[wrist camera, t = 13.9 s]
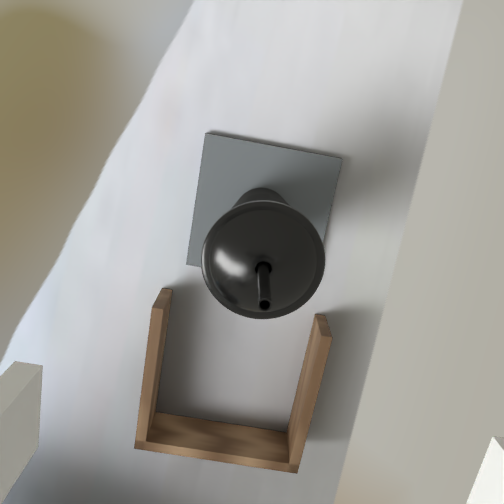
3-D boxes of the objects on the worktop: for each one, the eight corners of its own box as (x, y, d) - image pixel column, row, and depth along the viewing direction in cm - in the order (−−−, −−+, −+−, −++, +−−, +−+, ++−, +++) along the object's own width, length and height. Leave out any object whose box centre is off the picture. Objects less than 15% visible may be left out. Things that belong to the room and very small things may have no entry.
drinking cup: (200, 218, 41) (153, 312, 22) (256, 153, 40) (256, 193, 20) (264, 271, 43) (272, 401, 24) (321, 210, 41) (378, 297, 22)
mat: (187, 262, 43) (186, 264, 43) (205, 133, 40) (205, 133, 39) (311, 284, 44) (312, 286, 43) (341, 158, 40) (342, 158, 40)
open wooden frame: (144, 418, 48) (134, 448, 44) (162, 288, 44) (151, 307, 40) (293, 441, 49) (297, 473, 45) (325, 315, 45) (332, 337, 40)
